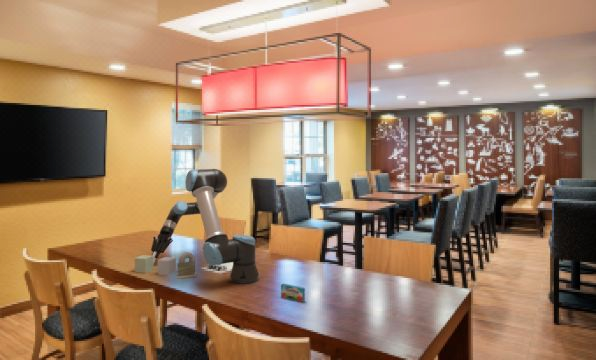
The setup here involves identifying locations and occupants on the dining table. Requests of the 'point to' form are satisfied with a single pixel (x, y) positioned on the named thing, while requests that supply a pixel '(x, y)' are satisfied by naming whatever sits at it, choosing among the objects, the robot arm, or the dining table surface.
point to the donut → (186, 255)
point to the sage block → (144, 264)
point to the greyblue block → (166, 266)
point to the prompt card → (186, 270)
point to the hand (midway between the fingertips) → (151, 262)
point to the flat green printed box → (293, 292)
